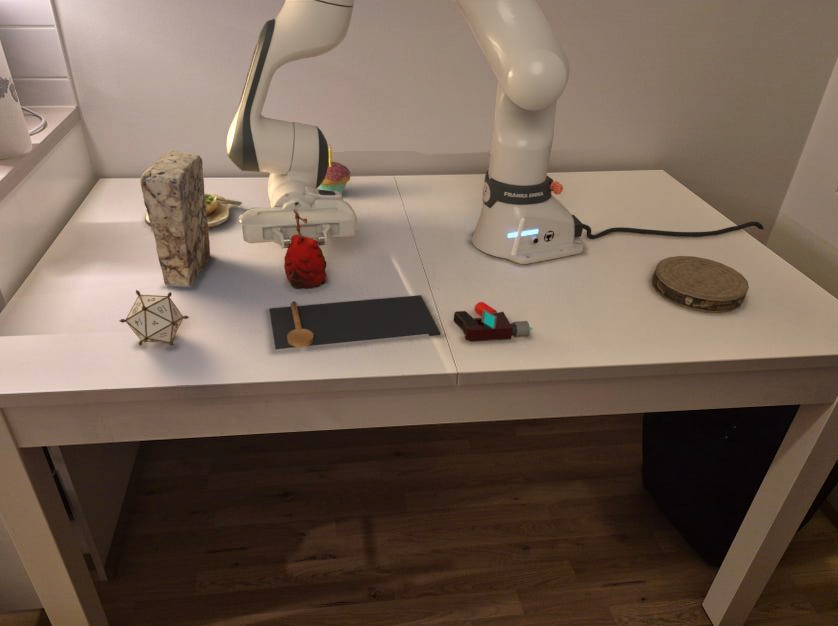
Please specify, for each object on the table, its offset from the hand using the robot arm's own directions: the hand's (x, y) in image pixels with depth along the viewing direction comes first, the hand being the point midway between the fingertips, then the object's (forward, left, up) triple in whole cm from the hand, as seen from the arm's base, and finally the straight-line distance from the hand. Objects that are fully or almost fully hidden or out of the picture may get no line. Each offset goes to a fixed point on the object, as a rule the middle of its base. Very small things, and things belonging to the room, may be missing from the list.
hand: (304, 242), depth 110 cm
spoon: (+3, +13, -8) cm, 16 cm away
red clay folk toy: (0, 0, -8) cm, 8 cm away
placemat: (-6, +14, -8) cm, 17 cm away
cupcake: (-11, -41, -8) cm, 44 cm away
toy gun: (-28, +19, -8) cm, 35 cm away
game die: (+24, +14, -8) cm, 29 cm away
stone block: (+20, -8, -8) cm, 23 cm away
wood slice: (-70, +14, -8) cm, 72 cm away
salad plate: (+21, -33, -8) cm, 40 cm away
